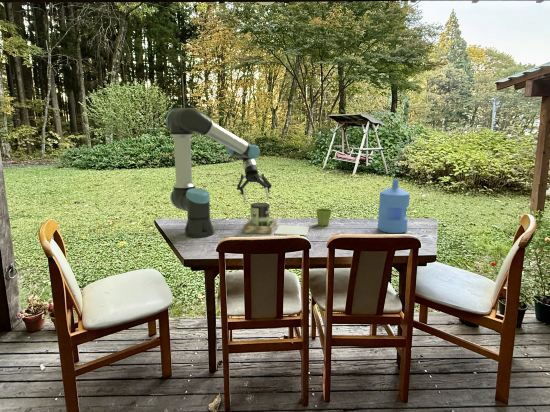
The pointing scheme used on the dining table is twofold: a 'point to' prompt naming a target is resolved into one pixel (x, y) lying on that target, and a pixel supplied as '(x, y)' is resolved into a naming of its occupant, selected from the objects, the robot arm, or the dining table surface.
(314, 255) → the dining table surface
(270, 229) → the birch frame
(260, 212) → the coffee can
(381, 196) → the water jug
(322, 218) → the plant pot
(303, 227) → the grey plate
